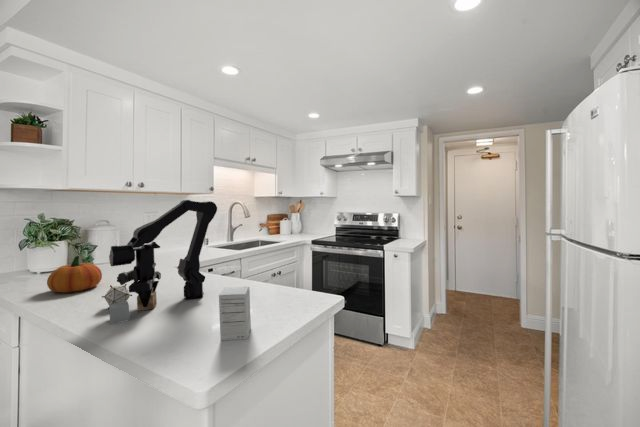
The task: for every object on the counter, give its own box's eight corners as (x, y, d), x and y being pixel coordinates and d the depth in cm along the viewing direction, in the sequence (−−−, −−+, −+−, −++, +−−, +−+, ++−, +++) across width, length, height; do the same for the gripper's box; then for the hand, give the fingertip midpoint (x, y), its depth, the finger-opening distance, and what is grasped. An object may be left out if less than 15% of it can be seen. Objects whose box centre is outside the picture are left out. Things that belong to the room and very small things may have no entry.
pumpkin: (36, 294, 127) (34, 259, 127) (83, 282, 146) (82, 252, 145) (68, 297, 122) (66, 261, 121) (112, 284, 140) (111, 253, 140)
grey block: (128, 315, 99) (127, 301, 99) (129, 320, 95) (128, 305, 95) (109, 319, 96) (109, 304, 96) (110, 324, 92) (109, 308, 92)
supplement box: (226, 329, 86) (224, 287, 86) (251, 328, 87) (250, 285, 86) (219, 341, 79) (217, 294, 79) (247, 339, 80) (246, 293, 79)
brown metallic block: (156, 304, 109) (156, 291, 109) (153, 308, 105) (152, 294, 104) (141, 306, 108) (140, 292, 108) (137, 310, 103) (136, 296, 103)
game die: (119, 318, 107) (112, 301, 101) (101, 308, 109) (93, 292, 103) (139, 299, 114) (134, 283, 108) (122, 291, 116) (115, 274, 110)
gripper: (127, 259, 112) (129, 299, 113) (109, 269, 94) (111, 316, 95) (160, 256, 115) (162, 296, 116) (148, 266, 98) (150, 312, 98)
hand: (147, 304), depth 106 cm, fingers closed on brown metallic block, 5 cm apart
